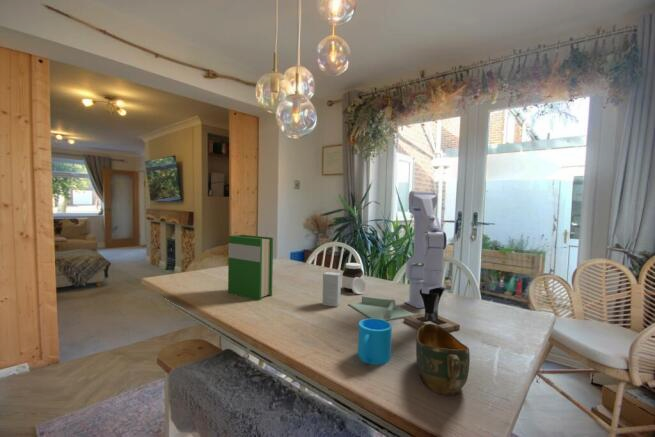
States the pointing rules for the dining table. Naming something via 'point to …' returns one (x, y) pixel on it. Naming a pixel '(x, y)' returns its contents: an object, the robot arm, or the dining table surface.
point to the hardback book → (250, 266)
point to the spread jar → (353, 278)
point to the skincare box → (331, 289)
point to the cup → (441, 360)
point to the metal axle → (435, 313)
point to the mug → (374, 341)
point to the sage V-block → (380, 308)
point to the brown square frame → (444, 323)
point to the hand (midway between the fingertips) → (431, 310)
